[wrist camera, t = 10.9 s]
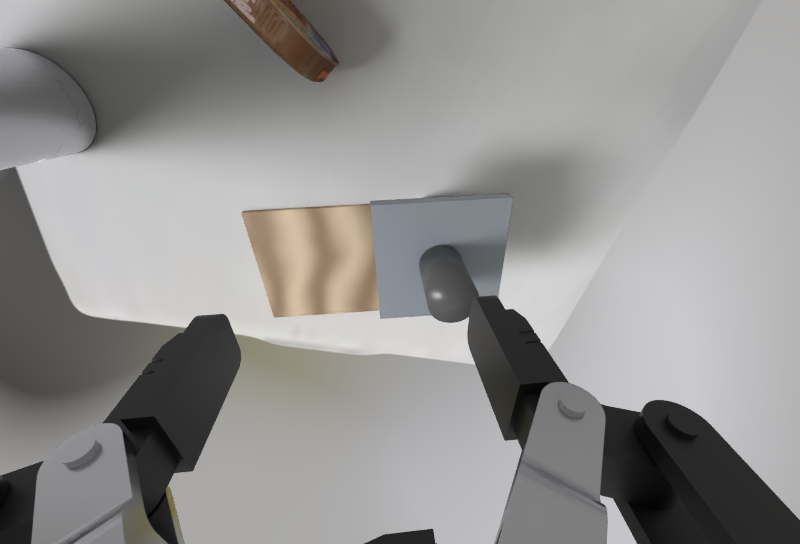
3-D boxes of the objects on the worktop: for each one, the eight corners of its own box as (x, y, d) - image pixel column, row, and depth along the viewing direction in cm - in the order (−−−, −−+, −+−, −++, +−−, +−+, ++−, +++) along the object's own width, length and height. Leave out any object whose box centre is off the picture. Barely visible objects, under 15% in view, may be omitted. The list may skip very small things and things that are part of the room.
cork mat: (275, 315, 46) (274, 317, 46) (242, 211, 38) (241, 212, 37) (383, 307, 47) (383, 310, 46) (375, 203, 38) (375, 205, 38)
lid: (380, 311, 33) (380, 363, 27) (370, 201, 27) (368, 235, 21) (492, 303, 33) (518, 353, 27) (508, 193, 27) (546, 224, 21)
